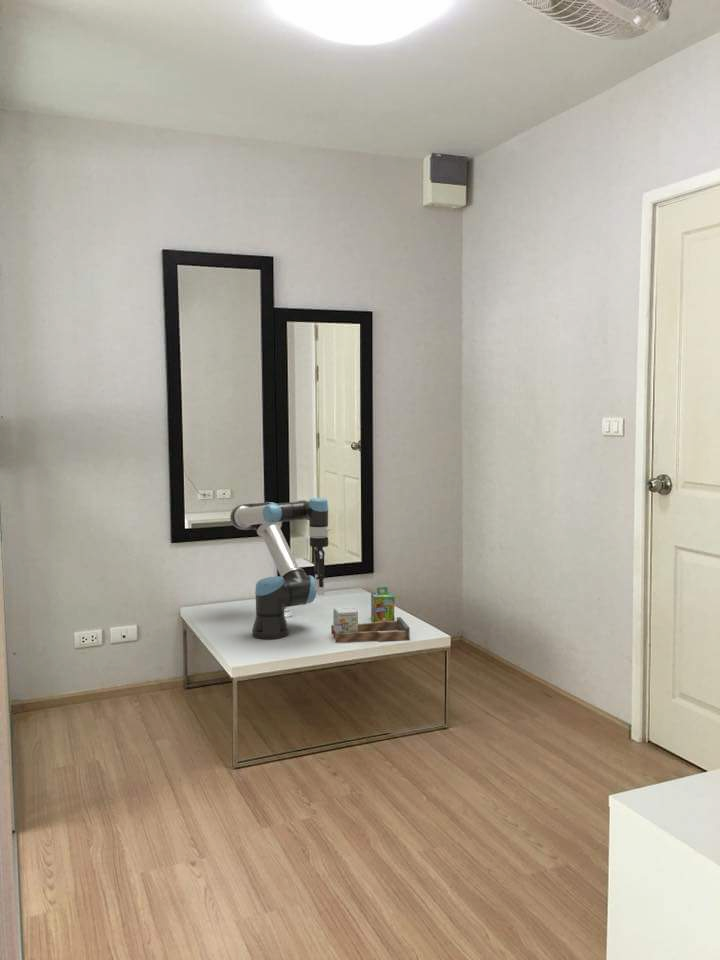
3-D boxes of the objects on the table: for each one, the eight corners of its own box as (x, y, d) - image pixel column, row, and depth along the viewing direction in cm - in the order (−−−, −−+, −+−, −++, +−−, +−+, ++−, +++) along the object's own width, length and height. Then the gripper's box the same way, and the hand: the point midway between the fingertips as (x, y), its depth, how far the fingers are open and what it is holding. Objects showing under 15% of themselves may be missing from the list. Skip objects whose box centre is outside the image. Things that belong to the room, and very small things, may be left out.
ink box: (338, 641, 328) (337, 612, 327) (333, 635, 336) (332, 607, 335) (358, 639, 330) (358, 610, 329) (353, 633, 339) (353, 605, 338)
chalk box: (374, 623, 355) (373, 590, 353) (370, 618, 364) (370, 585, 362) (395, 622, 356) (394, 589, 355) (391, 617, 365) (390, 584, 364)
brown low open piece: (336, 643, 324) (336, 631, 324) (330, 632, 341) (330, 620, 340) (409, 639, 329) (409, 627, 329) (400, 628, 346) (400, 617, 345)
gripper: (331, 540, 319) (332, 597, 321) (325, 532, 339) (325, 586, 341) (312, 540, 317) (313, 598, 319) (307, 533, 337) (307, 587, 339)
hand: (319, 592), depth 330 cm, fingers open, 8 cm apart
